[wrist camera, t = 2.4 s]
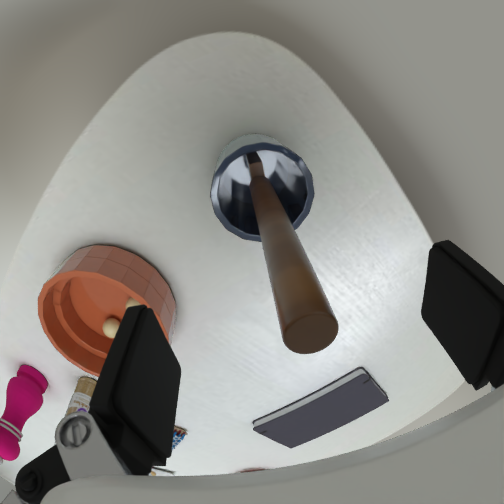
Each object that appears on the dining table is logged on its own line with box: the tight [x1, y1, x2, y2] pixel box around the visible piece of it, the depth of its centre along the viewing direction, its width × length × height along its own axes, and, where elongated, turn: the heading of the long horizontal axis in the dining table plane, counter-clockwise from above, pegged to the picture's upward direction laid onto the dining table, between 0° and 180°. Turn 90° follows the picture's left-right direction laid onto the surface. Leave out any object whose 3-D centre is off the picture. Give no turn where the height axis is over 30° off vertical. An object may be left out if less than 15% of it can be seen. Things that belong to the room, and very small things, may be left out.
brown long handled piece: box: [246, 152, 338, 354], centre depth 17 cm, size 4×2×21 cm, turn 11°
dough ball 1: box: [103, 318, 120, 338], centre depth 32 cm, size 2×2×2 cm
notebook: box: [253, 367, 389, 448], centre depth 45 cm, size 13×2×21 cm
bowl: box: [38, 245, 176, 377], centre depth 30 cm, size 15×15×6 cm
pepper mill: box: [0, 365, 48, 465], centre depth 31 cm, size 7×7×20 cm
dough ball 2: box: [126, 297, 141, 309], centre depth 31 cm, size 2×2×2 cm
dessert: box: [151, 468, 175, 476], centre depth 55 cm, size 12×12×5 cm
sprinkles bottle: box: [55, 377, 97, 445], centre depth 34 cm, size 5×5×13 cm
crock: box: [210, 134, 314, 242], centre depth 24 cm, size 7×7×8 cm
